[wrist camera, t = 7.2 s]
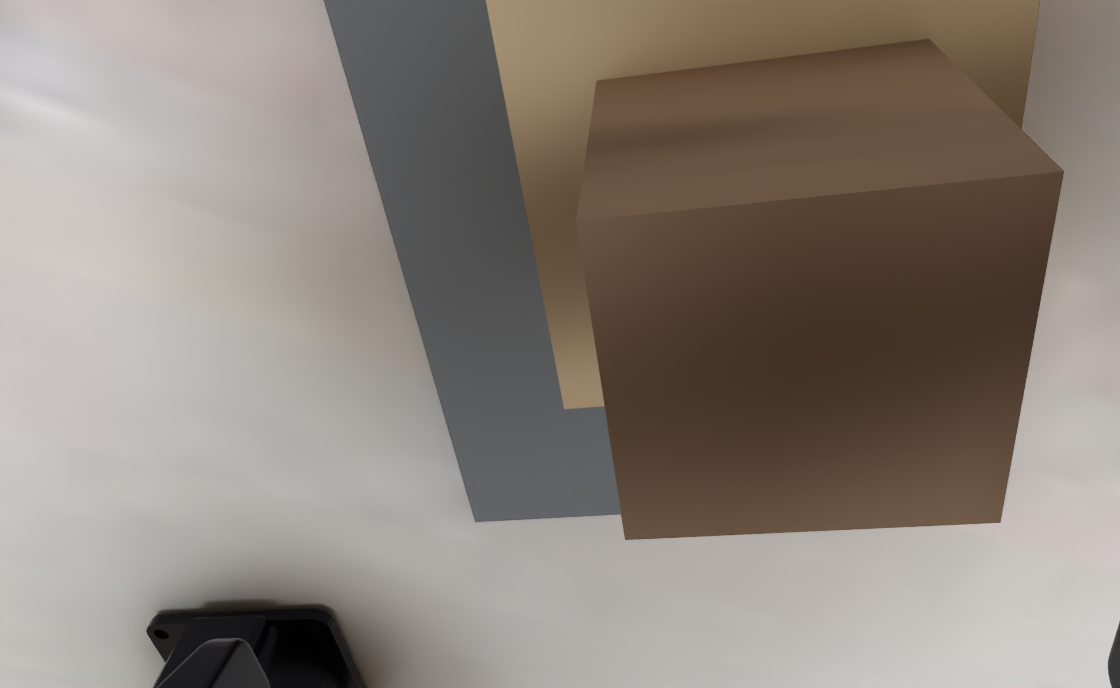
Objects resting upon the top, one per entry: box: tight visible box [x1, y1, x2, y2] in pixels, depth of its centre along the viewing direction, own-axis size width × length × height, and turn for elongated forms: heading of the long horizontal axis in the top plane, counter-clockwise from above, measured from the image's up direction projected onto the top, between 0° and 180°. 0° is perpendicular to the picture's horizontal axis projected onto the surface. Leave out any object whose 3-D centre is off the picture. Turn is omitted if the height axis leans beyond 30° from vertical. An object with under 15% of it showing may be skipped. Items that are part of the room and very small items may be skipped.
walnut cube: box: [576, 39, 1064, 540], centre depth 13 cm, size 5×5×5 cm
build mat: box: [324, 0, 621, 522], centre depth 20 cm, size 16×12×1 cm
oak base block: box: [486, 0, 1040, 409], centre depth 16 cm, size 8×8×4 cm
